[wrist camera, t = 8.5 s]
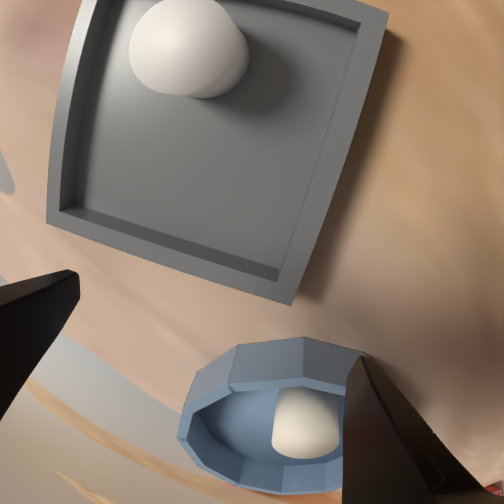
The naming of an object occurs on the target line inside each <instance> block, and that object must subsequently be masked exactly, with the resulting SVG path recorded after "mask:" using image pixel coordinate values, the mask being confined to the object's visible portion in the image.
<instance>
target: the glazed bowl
mask: <svg viewBox="0 0 504 504" xmlns="http://www.w3.org/2000/svg"><path fill="white" fill-rule="evenodd" d="M360 355H364V356H367V355H366V353H363V352H359V351H355V350H351V349H347V348H344V347H340V346H336V345H332V344H328V343H324V342H321V341H317V340H313V339H310V338H306V337H300V338H293V339H285V340H278V341H269V342H261V343H252V344H243V345H237V346H236V347H234V348H233V349H231V350H230V351H228V352H227V353H225V354H224V355H222V356H221V357H219V358H218V359H216V360H215V361H213V362H211V363H210V364H208V365H207V366H205V367H204V368H202V369H201V370H199V371H198V372H197V373H196V375H195V378H194V380H193V383H192V385H191V388H190V391H189V393H188V396H187V398H186V401H185V403H184V406H183V410H182V415H181V420H180V424H179V429H178V434H177V439H178V441H179V442H180V443H181V445H182V446H183V447H184V449H185V450H186V452H187V453H188V454H189V455H190V457H191V458H192V460H193V461H194V462H195V463H196V465H197V466H199V467H200V468H202V469H204V470H206V471H207V472H209V473H211V474H213V475H215V476H217V477H219V478H220V479H222V480H224V481H226V482H228V483H230V484H232V485H234V486H238V487H242V488H247V489H251V490H256V491H261V492H266V493H272V494H278V495H296V494H313V493H325V492H331V491H334V490H337V489H340V488H342V477H343V412H344V402H345V390H346V379H347V375H348V373H349V371H350V370H351V368H352V366H353V364H354V363H355V361H356V359H357V358H358V356H360ZM393 383H394V382H393ZM298 386H303V387H307V388H312V389H316V390H320V391H325V392H329V393H334V394H336V395H337V408H338V423H339V444H338V446H337V448H336V449H335V450H333V451H332V452H330V453H329V454H326V455H324V456H321V457H317V458H311V459H297V458H291V457H288V456H285V455H282V454H280V453H279V452H277V451H276V450H275V449H274V448H273V446H272V434H273V425H274V417H275V408H276V399H277V394H278V392H279V390H280V389H281V388H289V387H298Z"/></svg>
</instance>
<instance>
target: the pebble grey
mask: <svg viewBox="0 0 504 504" xmlns="http://www.w3.org/2000/svg"><path fill="white" fill-rule="evenodd" d="M129 61H130V64H131V68H132V70H133V72H134V74H135V75H136V77H137V78H138V79H139V80H140V81H141V82H142V83H143V84H144V85H145V86H147V87H148V88H150V89H152V90H154V91H157V92H160V93H165V94H173V95H180V96H187V97H194V98H202V99H206V98H213V97H217V96H220V95H223V94H225V93H227V92H228V91H230V90H231V89H233V88H234V87H235V86H236V85H237V84H238V83H239V82H240V81H241V80H242V78H243V77H244V75H245V73H246V71H247V69H248V66H249V61H250V49H249V45H248V42H247V40H246V38H245V36H244V35H243V34H242V32H241V31H240V29H239V28H238V27H237V25H236V24H235V23H234V21H233V20H232V18H231V17H230V16H229V14H228V13H227V12H226V11H225V9H224V8H223V7H222V6H221V5H220V4H218V3H217V2H215V1H214V0H163V1H161V2H159V3H157V4H156V5H154V6H153V7H152V8H150V9H149V10H148V11H147V12H146V13H145V14H144V15H143V16H142V17H141V19H140V20H139V21H138V23H137V24H136V26H135V28H134V30H133V32H132V35H131V38H130V42H129Z"/></svg>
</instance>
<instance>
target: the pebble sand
mask: <svg viewBox="0 0 504 504" xmlns="http://www.w3.org/2000/svg"><path fill="white" fill-rule="evenodd" d="M338 444H339V423H338V408H337V395H336V394H334V393H329V392H325V391H320V390H316V389H312V388H307V387H303V386H298V387H289V388H281V389H280V390H279V392H278V394H277V399H276V408H275V417H274V425H273V434H272V446H273V448H274V449H275V450H276V451H277V452H279V453H280V454H282V455H285V456H288V457H291V458H297V459H311V458H317V457H321V456H324V455H326V454H329V453H330V452H332V451H333V450H335V449H336V448H337V446H338Z"/></svg>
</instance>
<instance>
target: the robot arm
mask: <svg viewBox="0 0 504 504" xmlns="http://www.w3.org/2000/svg"><path fill="white" fill-rule="evenodd" d="M79 299H80V279H79V275H78V273H77V272H74V271H71V270H68V269H67V270H63V271H59V272H55V273H51V274H47V275H43V276H39V277H35V278H31V279H27V280H23V281H19V282H15V283H12V284H8V285H4V286H0V421H1V419H2V417H3V416H4V414H5V413H6V411H7V409H8V408H9V406H10V405H11V403H12V401H13V400H14V398H15V397H16V395H17V394H18V392H19V390H20V389H21V388H22V386H23V385H24V383H25V382H26V380H27V379H28V377H29V376H30V374H31V373H32V371H33V370H34V368H35V367H36V365H37V364H38V362H39V361H40V360H41V358H42V357H43V355H44V354H45V353H46V351H47V350H48V348H49V347H50V346H51V344H52V343H53V342H54V340H55V339H56V337H57V336H58V334H59V333H60V331H61V330H62V328H63V326H64V325H65V323H66V321H67V320H68V318H69V316H70V315H71V313H72V311H73V310H74V308H75V306H76V305H77V303H78V301H79ZM342 504H504V496H500V495H496V494H493V493H491V492H489V491H488V490H486V489H485V488H484V487H483V486H482V485H481V484H480V483H479V482H478V481H477V480H476V479H475V478H474V477H473V476H472V475H471V474H470V473H469V472H468V471H467V470H466V468H465V467H464V466H463V465H462V464H461V463H460V462H459V461H458V460H457V459H456V458H455V457H454V456H453V455H452V453H451V452H450V451H449V450H448V449H447V448H446V446H445V445H444V444H443V443H442V442H441V440H440V439H439V438H438V437H437V435H436V434H435V433H433V431H432V429H431V428H430V427H429V426H428V424H427V423H426V422H425V421H424V419H423V418H422V417H421V416H420V414H419V413H418V412H417V411H416V410H415V408H414V407H413V406H412V405H411V403H410V402H409V401H408V400H407V398H406V397H405V396H404V395H403V394H402V392H401V391H400V390H399V389H398V388H397V386H396V385H395V384H394V383H393V381H392V380H391V379H390V378H389V377H388V375H387V374H386V373H385V372H384V371H383V369H382V368H381V367H380V366H379V365H378V363H377V362H376V361H375V360H374V359H373V358H372V357H369V356H364V355H360V356H358V358H357V359H356V361H355V363H354V364H353V366H352V368H351V370H350V371H349V373H348V375H347V379H346V390H345V402H344V412H343V477H342Z"/></svg>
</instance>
